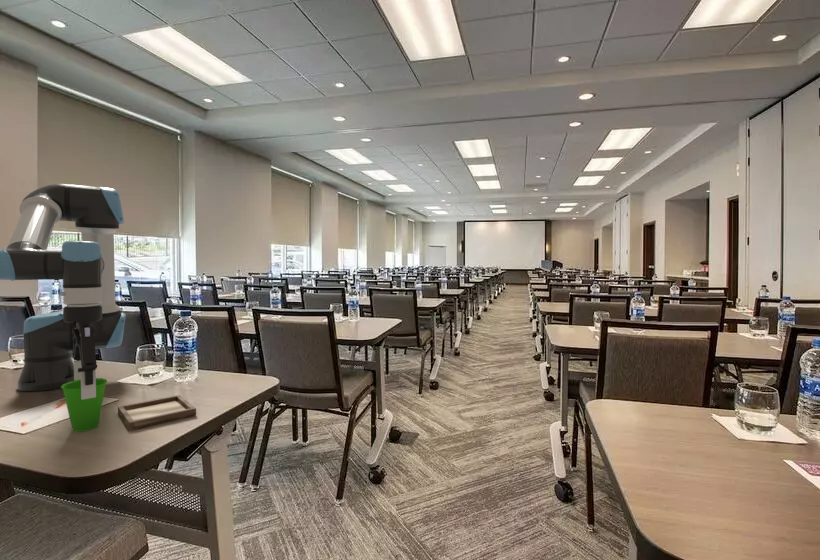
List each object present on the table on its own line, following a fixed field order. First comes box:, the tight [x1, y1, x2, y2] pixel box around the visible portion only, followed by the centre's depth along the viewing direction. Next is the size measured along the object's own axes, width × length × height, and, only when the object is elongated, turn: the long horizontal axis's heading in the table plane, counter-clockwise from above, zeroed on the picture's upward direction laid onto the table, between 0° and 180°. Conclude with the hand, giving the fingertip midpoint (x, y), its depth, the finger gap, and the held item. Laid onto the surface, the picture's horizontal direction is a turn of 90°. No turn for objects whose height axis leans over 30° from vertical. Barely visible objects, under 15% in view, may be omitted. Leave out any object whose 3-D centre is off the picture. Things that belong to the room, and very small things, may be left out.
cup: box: [60, 377, 108, 432], centre depth 105 cm, size 9×9×11 cm
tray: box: [117, 394, 197, 432], centre depth 114 cm, size 15×15×2 cm
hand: (84, 391), depth 104 cm, fingers open, 13 cm apart
